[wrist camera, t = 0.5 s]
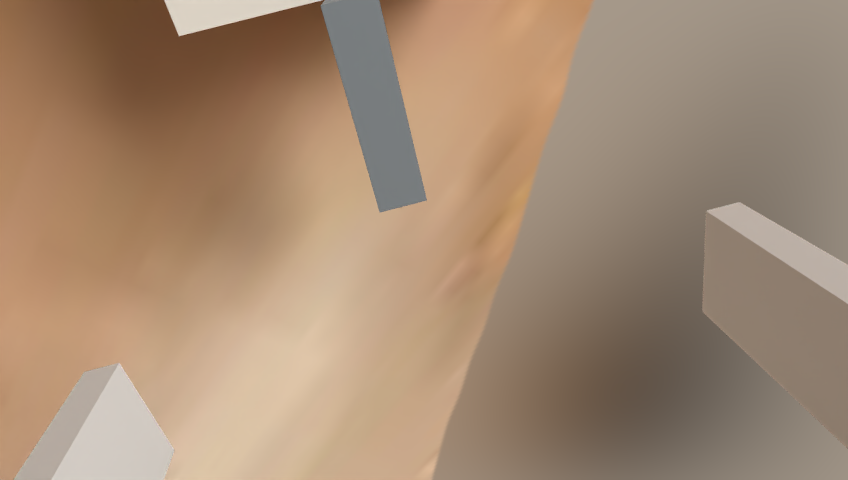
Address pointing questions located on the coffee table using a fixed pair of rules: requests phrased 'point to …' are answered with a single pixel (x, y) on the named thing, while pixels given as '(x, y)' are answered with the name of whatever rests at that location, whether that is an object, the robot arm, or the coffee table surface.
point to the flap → (344, 82)
